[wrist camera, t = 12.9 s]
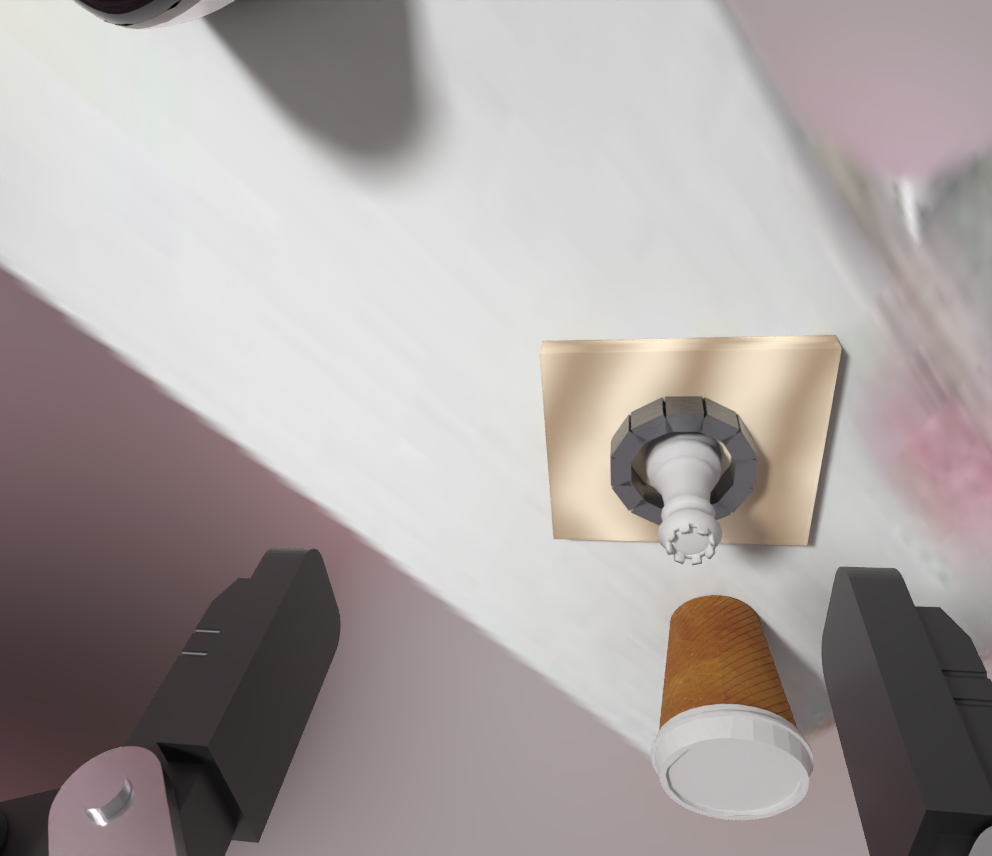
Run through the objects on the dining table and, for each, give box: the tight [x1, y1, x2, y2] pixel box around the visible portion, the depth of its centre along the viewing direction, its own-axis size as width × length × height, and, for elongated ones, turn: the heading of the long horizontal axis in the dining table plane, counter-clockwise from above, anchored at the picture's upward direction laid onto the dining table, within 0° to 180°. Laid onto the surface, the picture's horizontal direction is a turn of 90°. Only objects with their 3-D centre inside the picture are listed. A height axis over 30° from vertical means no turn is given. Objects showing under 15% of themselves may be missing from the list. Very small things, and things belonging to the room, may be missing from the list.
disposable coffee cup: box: [651, 595, 814, 820], centre depth 49 cm, size 10×10×12 cm
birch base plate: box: [540, 335, 842, 546], centre depth 45 cm, size 16×14×2 cm
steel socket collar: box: [610, 396, 758, 526], centre depth 44 cm, size 8×8×2 cm
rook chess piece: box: [645, 432, 723, 565], centre depth 41 cm, size 4×4×8 cm
